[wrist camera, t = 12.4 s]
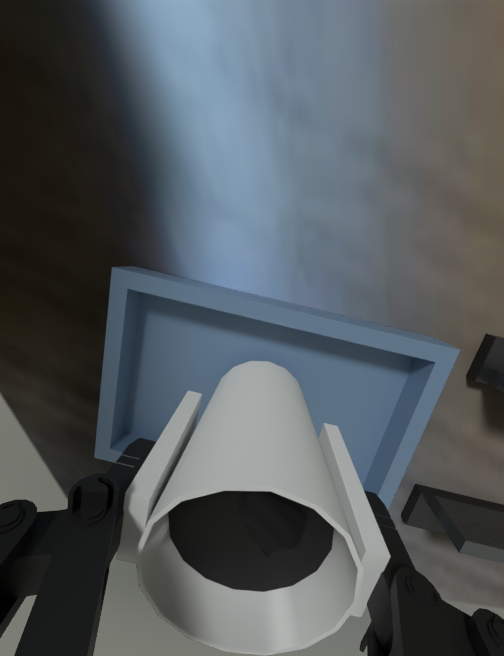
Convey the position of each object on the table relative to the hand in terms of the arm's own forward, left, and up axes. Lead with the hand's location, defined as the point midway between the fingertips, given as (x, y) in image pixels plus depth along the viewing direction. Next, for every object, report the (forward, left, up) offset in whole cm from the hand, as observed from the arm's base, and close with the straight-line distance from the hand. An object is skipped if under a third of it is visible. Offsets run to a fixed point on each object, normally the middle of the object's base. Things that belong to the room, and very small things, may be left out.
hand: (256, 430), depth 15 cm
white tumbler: (0, 0, -3) cm, 3 cm away
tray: (0, 0, -5) cm, 5 cm away
